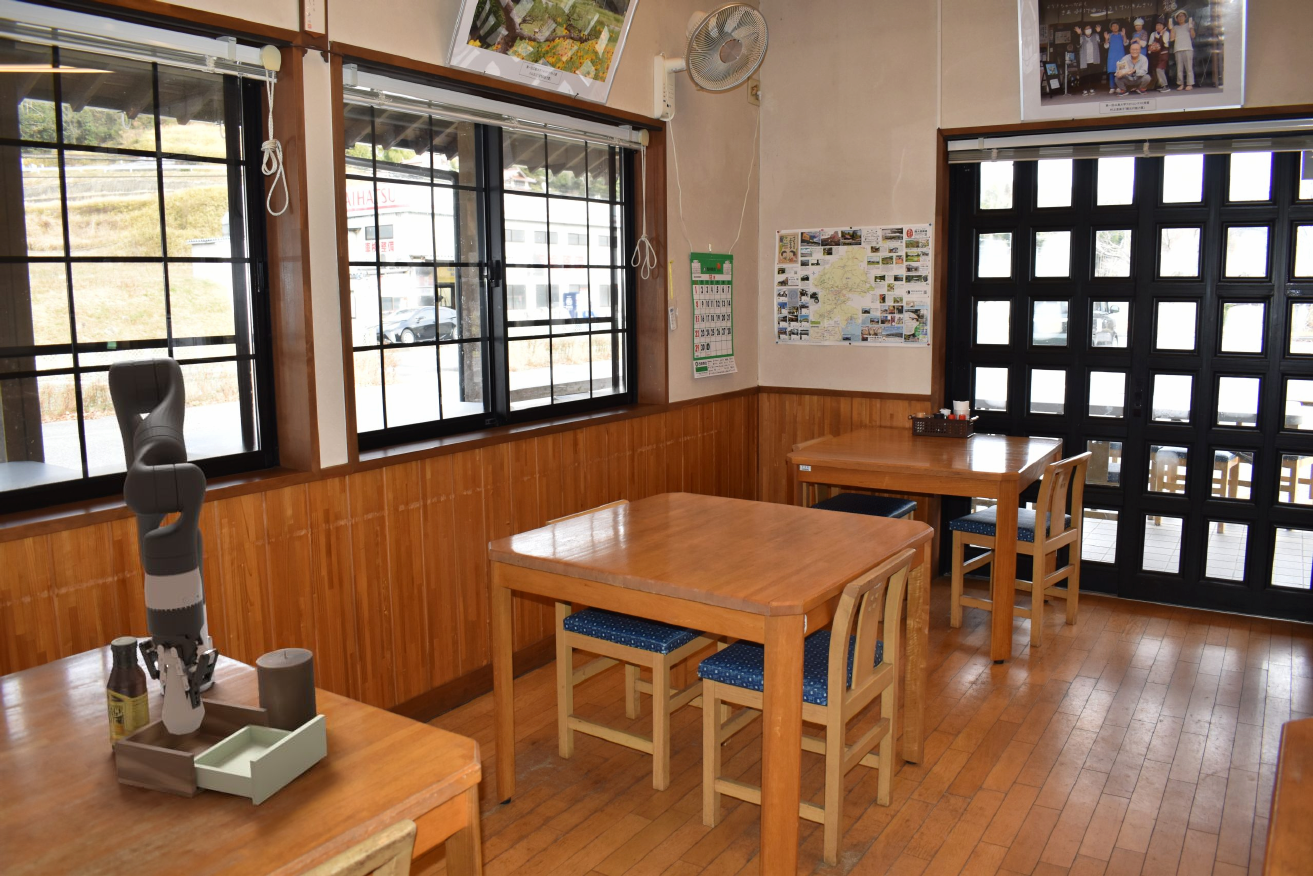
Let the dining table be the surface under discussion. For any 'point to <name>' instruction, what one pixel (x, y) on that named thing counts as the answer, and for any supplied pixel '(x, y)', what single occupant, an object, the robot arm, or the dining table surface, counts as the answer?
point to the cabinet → (179, 748)
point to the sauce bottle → (126, 691)
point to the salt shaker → (178, 702)
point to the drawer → (261, 759)
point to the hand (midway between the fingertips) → (182, 708)
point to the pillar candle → (287, 688)
